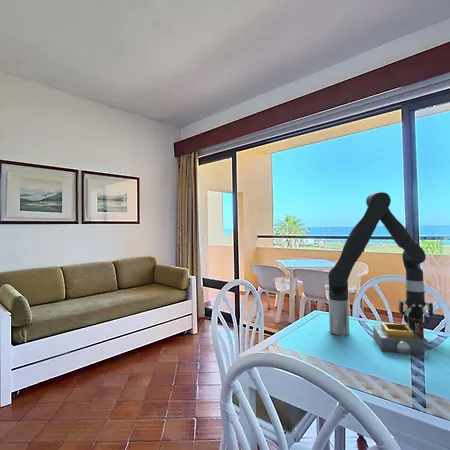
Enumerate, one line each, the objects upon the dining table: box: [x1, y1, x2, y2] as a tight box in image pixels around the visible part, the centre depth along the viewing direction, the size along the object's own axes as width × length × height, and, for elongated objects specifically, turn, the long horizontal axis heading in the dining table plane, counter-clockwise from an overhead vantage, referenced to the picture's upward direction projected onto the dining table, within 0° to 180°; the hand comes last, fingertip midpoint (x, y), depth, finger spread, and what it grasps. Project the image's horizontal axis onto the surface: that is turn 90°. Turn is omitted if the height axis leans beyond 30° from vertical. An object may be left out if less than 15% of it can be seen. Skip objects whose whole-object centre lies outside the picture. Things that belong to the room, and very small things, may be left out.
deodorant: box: [408, 306, 425, 340], centre depth 139 cm, size 6×6×15 cm
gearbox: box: [372, 322, 425, 357], centre depth 128 cm, size 16×18×8 cm
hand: (416, 323), depth 139 cm, fingers open, 7 cm apart
